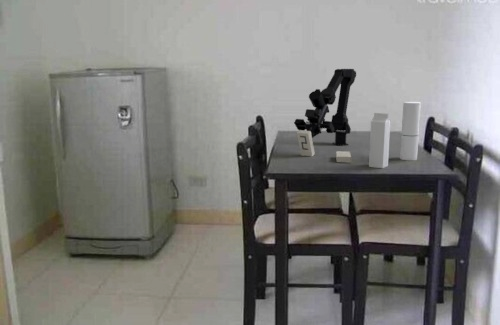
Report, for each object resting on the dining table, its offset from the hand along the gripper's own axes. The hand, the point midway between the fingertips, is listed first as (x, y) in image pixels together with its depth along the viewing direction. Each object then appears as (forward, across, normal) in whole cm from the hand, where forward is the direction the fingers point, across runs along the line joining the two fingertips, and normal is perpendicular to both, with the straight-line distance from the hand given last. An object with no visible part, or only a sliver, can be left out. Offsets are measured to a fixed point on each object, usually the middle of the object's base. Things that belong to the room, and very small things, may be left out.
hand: (307, 140), depth 215 cm
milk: (+7, +35, +3) cm, 36 cm away
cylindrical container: (-8, +41, +19) cm, 46 cm away
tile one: (0, +15, +9) cm, 17 cm away
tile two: (+4, 0, +5) cm, 7 cm away
